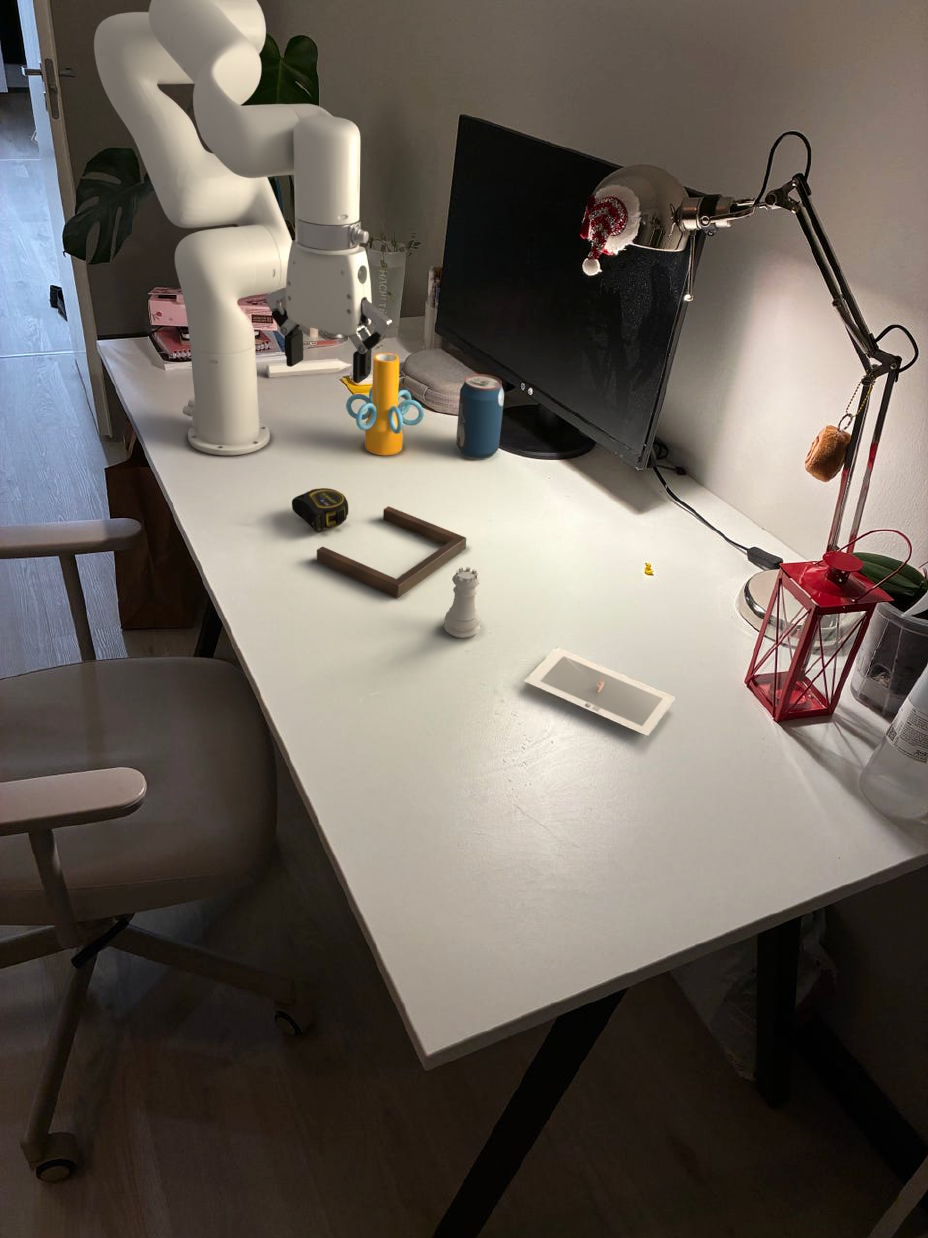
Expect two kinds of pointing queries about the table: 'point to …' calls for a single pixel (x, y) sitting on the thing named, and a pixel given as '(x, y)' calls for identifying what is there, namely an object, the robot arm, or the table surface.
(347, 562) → the frame
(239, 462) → the table surface
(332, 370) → the marker
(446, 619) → the rook chess piece
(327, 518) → the tape measure
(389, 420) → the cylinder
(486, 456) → the soda can
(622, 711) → the touchpad
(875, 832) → the table surface
